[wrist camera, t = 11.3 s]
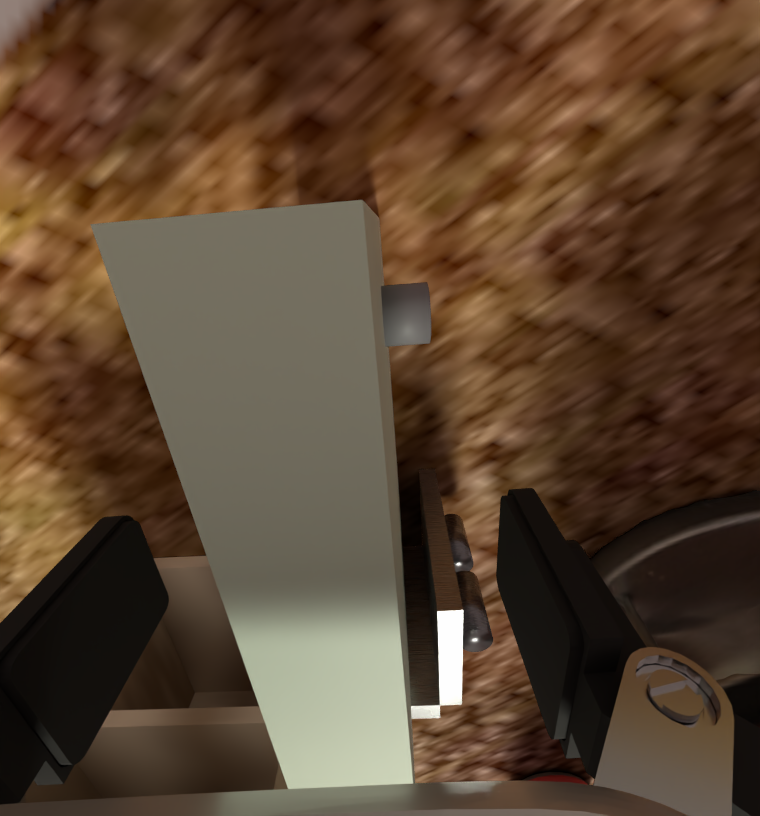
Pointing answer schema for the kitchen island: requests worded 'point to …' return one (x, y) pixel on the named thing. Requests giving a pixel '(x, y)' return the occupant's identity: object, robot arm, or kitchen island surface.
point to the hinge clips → (440, 605)
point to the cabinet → (179, 709)
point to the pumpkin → (696, 589)
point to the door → (288, 458)
